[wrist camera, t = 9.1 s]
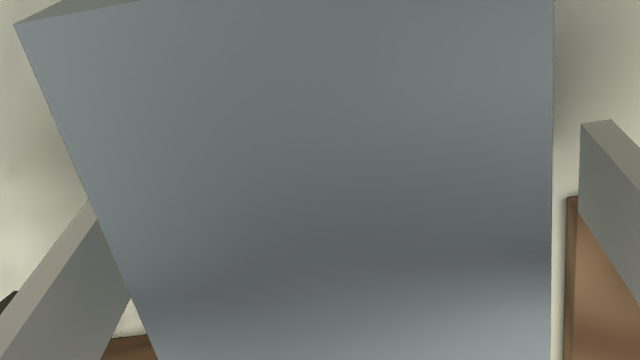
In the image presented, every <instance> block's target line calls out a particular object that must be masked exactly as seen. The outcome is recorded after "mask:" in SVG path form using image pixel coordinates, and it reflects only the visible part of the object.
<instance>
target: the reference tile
mask: <svg viewBox="0 0 640 360" xmlns="http://www.w3.org/2000/svg"><path fill="white" fill-rule="evenodd" d="M563 360H640V306H639V305H638V303H637V302H636V300H635V299H634V297H633V295H632V294H631V292H630V291H629V289H628V288H627V286H626V285H625V283H624V282H623V280H622V278H621V277H620V275H619V274H618V272H617V271H616V269H615V268H614V266H613V265H612V263H611V261H610V260H609V258H608V257H607V255H606V254H605V252H604V251H603V249H602V247H601V246H600V244H599V243H598V241H597V240H596V238H595V237H594V235H593V234H592V232H591V230H590V229H589V227H588V226H587V224H586V223H585V221H584V220H583V218H582V217H581V215H580V213H579V212H578V197H571V198H567V234H566V274H565V315H564V355H563Z"/></svg>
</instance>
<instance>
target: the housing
mask: <svg viewBox="0 0 640 360" xmlns="http://www.w3.org/2000/svg"><path fill="white" fill-rule="evenodd" d="M13 25H14V28H15V30H16V32H17V35H18V37H19V39H20V41H21V44H22V46H23V48H24V51H25V53H26V55H27V58H28V60H29V62H30V65H31V67H32V69H33V72H34V74H35V76H36V78H37V81H38V83H39V85H40V88H41V90H42V92H43V95H44V97H45V99H46V102H47V104H48V106H49V108H50V111H51V113H52V115H53V118H54V120H55V122H56V125H57V127H58V129H59V132H60V134H61V136H62V139H63V141H64V143H65V145H66V148H67V150H68V152H69V155H70V157H71V159H72V162H73V164H74V166H75V169H76V171H77V173H78V176H79V178H80V180H81V182H82V185H83V187H84V189H85V192H86V194H87V196H88V199H89V201H90V203H91V206H92V208H93V210H94V212H95V215H96V217H97V219H98V222H99V224H100V226H101V229H102V231H103V233H104V236H105V238H106V240H107V243H108V245H109V247H110V249H111V252H112V254H113V256H114V259H115V261H116V263H117V266H118V268H119V270H120V273H121V275H122V277H123V280H124V282H125V284H126V286H127V289H128V291H129V293H130V296H131V298H132V300H133V303H134V305H135V307H136V310H137V312H138V314H139V316H140V319H141V321H142V323H143V326H144V328H145V330H146V333H147V335H148V337H149V340H150V342H151V344H152V347H153V349H154V351H155V353H156V356H157V358H158V360H550V342H551V243H552V144H553V45H554V0H62V1H60V2H58V3H56V4H54V5H52V6H50V7H48V8H46V9H44V10H42V11H40V12H38V13H36V14H33V15H31V16H29V17H27V18H25V19H23V20H21V21H19V22H17V23H15V24H13Z"/></svg>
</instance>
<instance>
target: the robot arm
mask: <svg viewBox="0 0 640 360" xmlns="http://www.w3.org/2000/svg"><path fill="white" fill-rule="evenodd" d="M578 212H579V213H580V215H581V217H582V218H583V220H584V221H585V223H586V224H587V226H588V227H589V229H590V230H591V232H592V234H593V235H594V237H595V238H596V240H597V241H598V243H599V244H600V246H601V247H602V249H603V251H604V252H605V254H606V255H607V257H608V258H609V260H610V261H611V263H612V265H613V266H614V268H615V269H616V271H617V272H618V274H619V275H620V277H621V278H622V280H623V282H624V283H625V285H626V286H627V288H628V289H629V291H630V292H631V294H632V295H633V297H634V299H635V300H636V302H637V303H638V305H639V306H640V148H639V147H638V146H637V145H636V144H635V143H634V142H633V141H632V140H631V139H630V138H629V137H628V136H627V135H626V134H625V133H624V132H623V131H622V130H621V129H620V128H619V127H618V126H617V125H616V124H615V123H614V122H613V121H612V120H604V121H597V122H590V123H583V124H581V136H580V163H579V189H578ZM130 298H131V296H130V293H129V291H128V289H127V286H126V284H125V282H124V280H123V277H122V275H121V273H120V270H119V268H118V266H117V263H116V261H115V259H114V256H113V254H112V252H111V249H110V247H109V245H108V243H107V240H106V238H105V236H104V233H103V231H102V229H101V226H100V224H99V222H98V219H97V217H96V215H95V212H94V210H93V208H92V206H91V203H90V201H89V199H88V200H87V202H86V203H85V204H84V206H83V207H82V208H81V210H80V211H79V212H78V214H77V215H76V216H75V218H74V219H73V220H72V221H71V223H70V224H69V225H68V227H67V228H66V229H65V231H64V232H63V233H62V235H61V236H60V237H59V239H58V240H57V241H56V242H55V244H54V245H53V246H52V248H51V249H50V250H49V252H48V253H47V254H46V256H45V257H44V258H43V260H42V261H41V262H40V263H39V265H38V266H37V267H36V269H35V270H34V271H33V273H32V274H31V275H30V277H29V278H28V279H27V281H26V282H25V283H24V285H23V286H22V287H21V288H20V290H19V291H13V292H12V293H11V294H10V295H8V296H7V297H6V298H5V299H3V300H2V301H1V302H0V360H100V359H101V357H102V355H103V353H104V351H105V349H106V347H107V345H108V343H109V341H110V339H111V337H112V335H113V333H114V331H115V328H116V326H117V324H118V322H119V320H120V318H121V316H122V314H123V312H124V310H125V308H126V306H127V304H128V302H129V300H130Z"/></svg>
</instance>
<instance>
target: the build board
mask: <svg viewBox="0 0 640 360" xmlns="http://www.w3.org/2000/svg"><path fill="white" fill-rule="evenodd" d="M100 360H158V358H157V356H156V353H155V351H154V349H153V347H152V344H151V342H150V340H149V337H148V335H144V336H135V337H127V338H118V339H110V341H109V343H108V345H107V347H106V349H105V351H104V353H103V355H102V357H101V359H100Z"/></svg>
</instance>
